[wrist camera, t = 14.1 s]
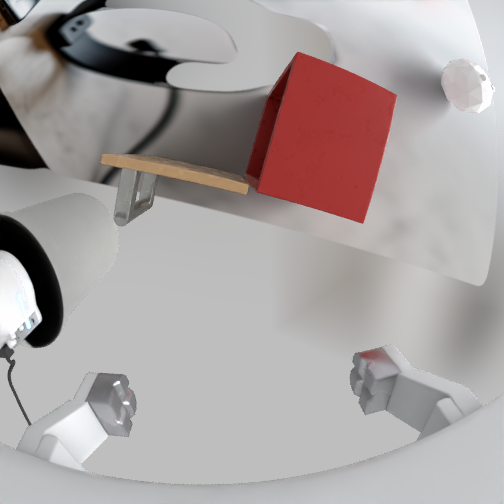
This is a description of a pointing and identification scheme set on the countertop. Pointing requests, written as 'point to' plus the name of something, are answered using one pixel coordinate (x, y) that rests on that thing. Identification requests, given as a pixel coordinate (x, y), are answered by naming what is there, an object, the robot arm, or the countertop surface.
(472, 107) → the decorative ball
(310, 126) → the cabinet
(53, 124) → the countertop surface
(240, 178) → the door
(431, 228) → the countertop surface
